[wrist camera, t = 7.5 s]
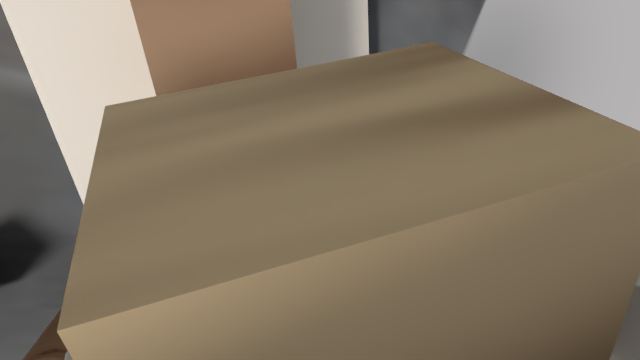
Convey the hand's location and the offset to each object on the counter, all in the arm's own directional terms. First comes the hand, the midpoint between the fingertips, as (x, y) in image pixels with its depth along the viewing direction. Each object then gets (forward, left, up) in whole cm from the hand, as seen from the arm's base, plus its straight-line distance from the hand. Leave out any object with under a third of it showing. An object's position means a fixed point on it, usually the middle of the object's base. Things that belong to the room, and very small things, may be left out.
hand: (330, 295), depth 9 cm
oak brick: (0, 0, -2) cm, 2 cm away
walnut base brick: (0, 0, -18) cm, 18 cm away
